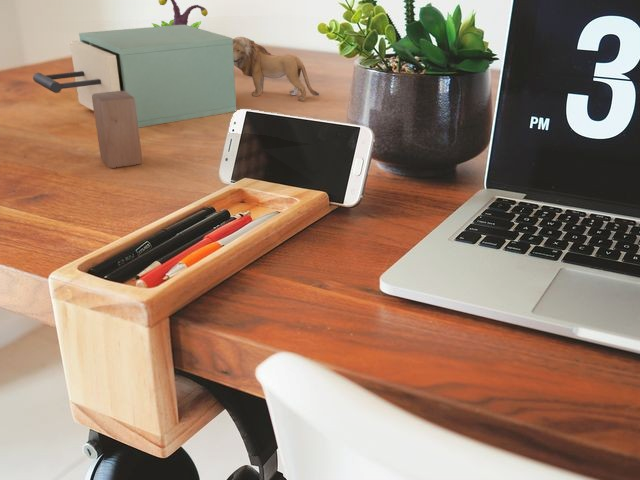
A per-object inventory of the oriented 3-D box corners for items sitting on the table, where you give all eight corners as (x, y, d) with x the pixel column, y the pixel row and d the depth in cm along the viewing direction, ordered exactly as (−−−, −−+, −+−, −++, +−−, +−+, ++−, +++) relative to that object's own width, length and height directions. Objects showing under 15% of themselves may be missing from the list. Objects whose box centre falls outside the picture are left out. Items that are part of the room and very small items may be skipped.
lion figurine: (226, 96, 116) (222, 38, 112) (236, 89, 121) (233, 33, 116) (316, 102, 114) (315, 43, 110) (322, 94, 119) (322, 38, 115)
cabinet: (130, 129, 98) (120, 48, 93) (89, 106, 108) (78, 32, 103) (236, 111, 108) (232, 38, 103) (190, 92, 118) (184, 24, 113)
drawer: (66, 131, 93) (54, 61, 89) (32, 109, 102) (19, 45, 98) (217, 107, 106) (213, 45, 102) (175, 89, 115) (170, 32, 111)
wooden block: (109, 169, 83) (99, 100, 80) (100, 160, 86) (90, 93, 83) (143, 164, 85) (135, 97, 82) (133, 155, 88) (125, 89, 85)
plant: (122, 47, 151) (115, -10, 145) (214, 43, 158) (211, -12, 153) (138, 66, 135) (130, 2, 129) (240, 60, 142) (236, 0, 137)
